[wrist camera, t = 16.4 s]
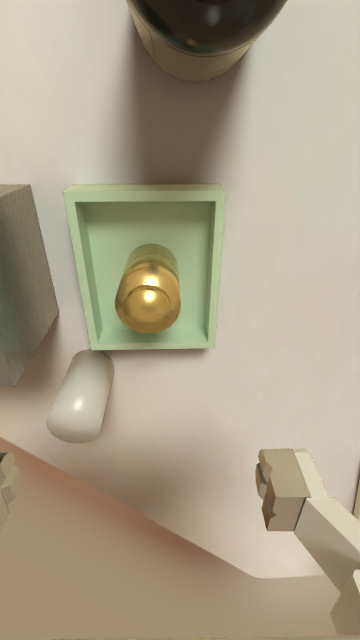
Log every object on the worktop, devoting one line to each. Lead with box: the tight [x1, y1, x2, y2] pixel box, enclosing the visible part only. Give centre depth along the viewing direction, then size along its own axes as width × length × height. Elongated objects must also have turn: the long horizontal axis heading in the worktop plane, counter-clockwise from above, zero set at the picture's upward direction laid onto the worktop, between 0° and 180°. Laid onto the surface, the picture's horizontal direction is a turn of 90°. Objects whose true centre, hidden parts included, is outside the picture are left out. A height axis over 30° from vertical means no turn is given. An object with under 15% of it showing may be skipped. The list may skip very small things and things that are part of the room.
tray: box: [63, 184, 226, 350], centre depth 24 cm, size 12×10×3 cm
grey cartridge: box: [47, 350, 114, 443], centre depth 27 cm, size 4×4×7 cm
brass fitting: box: [115, 244, 181, 333], centre depth 21 cm, size 4×4×7 cm
